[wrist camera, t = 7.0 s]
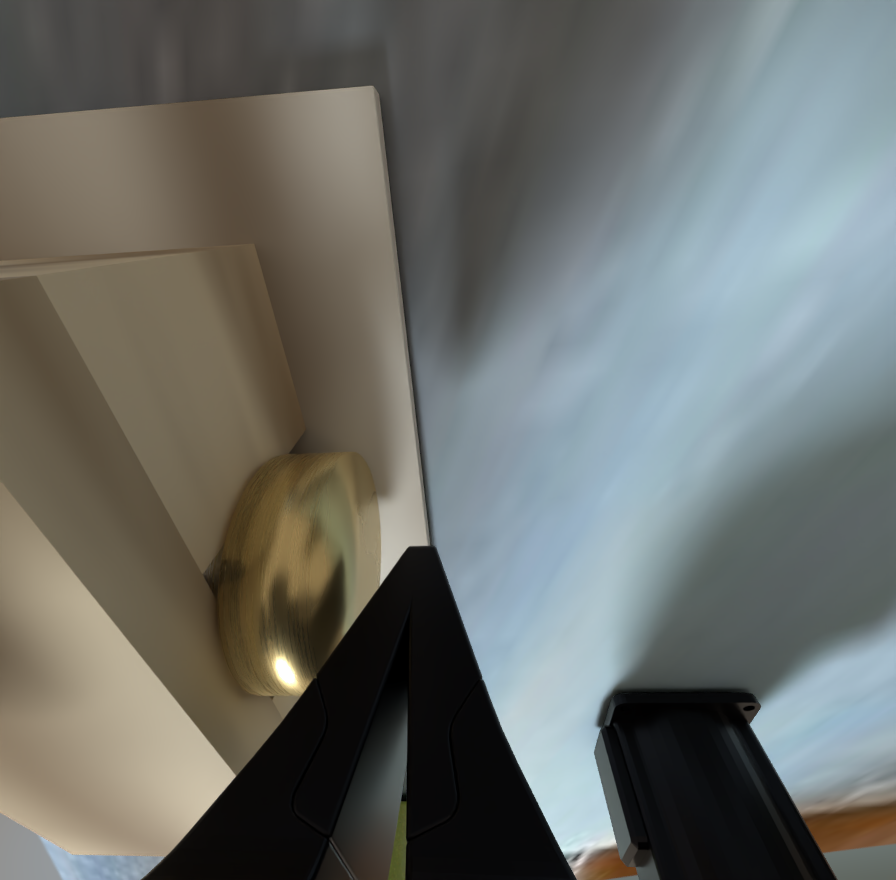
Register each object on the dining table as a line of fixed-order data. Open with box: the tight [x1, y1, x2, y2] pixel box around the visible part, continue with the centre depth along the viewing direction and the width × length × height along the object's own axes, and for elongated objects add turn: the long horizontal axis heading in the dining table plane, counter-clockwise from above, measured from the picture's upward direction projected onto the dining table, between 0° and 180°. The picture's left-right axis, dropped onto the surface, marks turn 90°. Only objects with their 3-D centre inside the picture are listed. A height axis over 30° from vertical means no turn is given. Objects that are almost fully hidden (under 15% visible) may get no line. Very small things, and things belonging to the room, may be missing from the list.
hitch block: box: [0, 86, 430, 856], centre depth 9 cm, size 9×18×7 cm, turn 3°
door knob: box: [203, 452, 381, 696], centre depth 9 cm, size 16×5×5 cm, turn 93°
